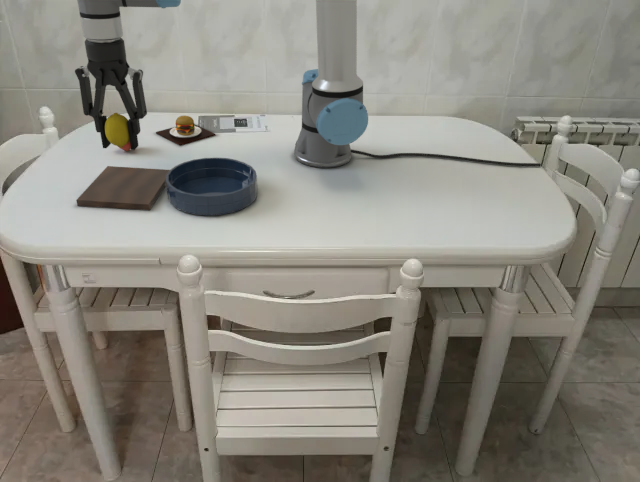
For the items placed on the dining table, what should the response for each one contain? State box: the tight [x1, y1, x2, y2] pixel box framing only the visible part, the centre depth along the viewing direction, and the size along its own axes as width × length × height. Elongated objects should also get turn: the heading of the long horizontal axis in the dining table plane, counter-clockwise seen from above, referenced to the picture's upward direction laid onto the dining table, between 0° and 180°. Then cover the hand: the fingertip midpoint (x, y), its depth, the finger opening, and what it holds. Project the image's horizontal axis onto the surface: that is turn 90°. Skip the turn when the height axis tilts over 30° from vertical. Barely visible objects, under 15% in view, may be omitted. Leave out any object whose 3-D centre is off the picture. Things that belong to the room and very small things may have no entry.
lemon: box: [105, 112, 130, 149], centre depth 122 cm, size 6×6×8 cm
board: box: [75, 165, 171, 211], centre depth 129 cm, size 16×18×2 cm
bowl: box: [165, 157, 258, 217], centre depth 128 cm, size 20×20×5 cm
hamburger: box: [155, 115, 217, 147], centre depth 159 cm, size 12×12×6 cm
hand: (120, 146), depth 124 cm, fingers closed on lemon, 6 cm apart
